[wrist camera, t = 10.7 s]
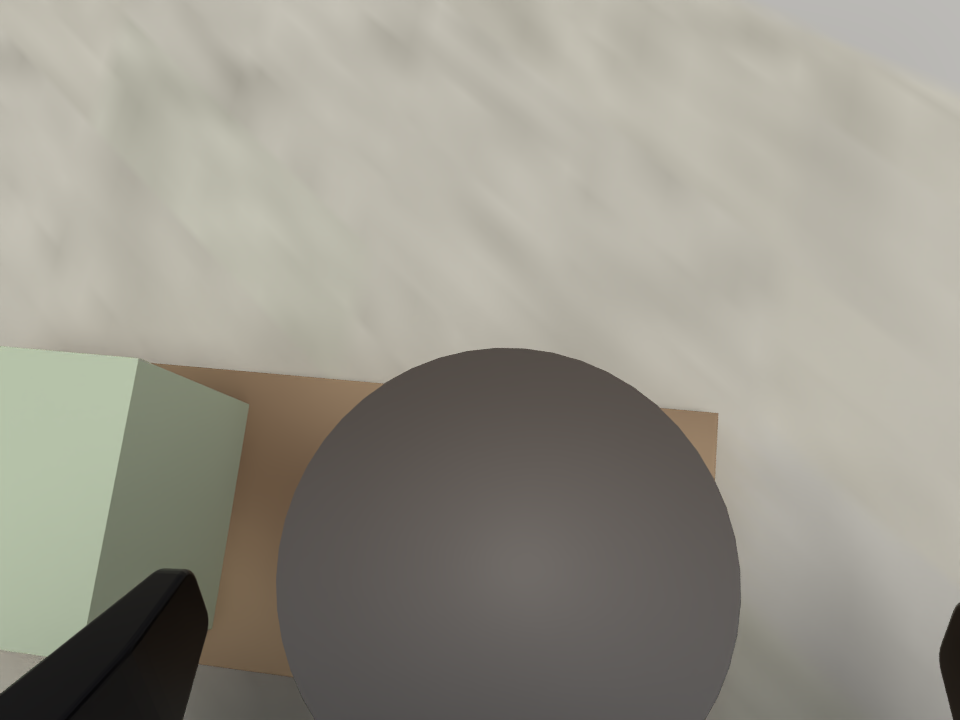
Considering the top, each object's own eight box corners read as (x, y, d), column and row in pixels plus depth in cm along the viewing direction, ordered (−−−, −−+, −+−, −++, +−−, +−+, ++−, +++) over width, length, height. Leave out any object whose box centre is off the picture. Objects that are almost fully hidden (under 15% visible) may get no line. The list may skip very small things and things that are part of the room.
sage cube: (212, 628, 17) (79, 660, 12) (4, 600, 17) (-195, 622, 13) (249, 404, 18) (138, 358, 13) (50, 385, 18) (-120, 335, 14)
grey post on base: (694, 722, 16) (1108, 1355, 4) (-43, 621, 18) (-1404, 801, 6) (709, 420, 17) (1065, 106, 5) (16, 358, 20) (-1001, 25, 7)
